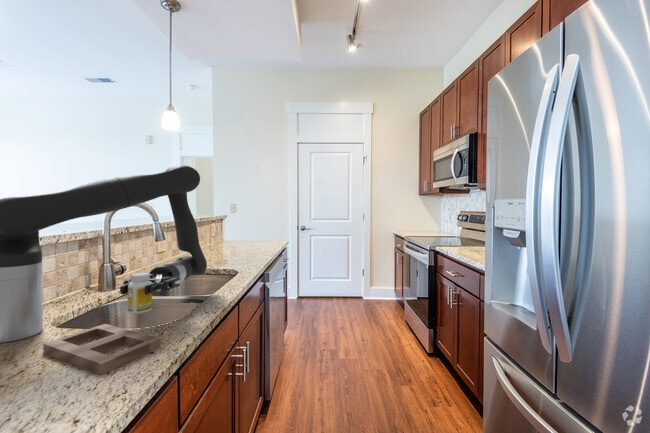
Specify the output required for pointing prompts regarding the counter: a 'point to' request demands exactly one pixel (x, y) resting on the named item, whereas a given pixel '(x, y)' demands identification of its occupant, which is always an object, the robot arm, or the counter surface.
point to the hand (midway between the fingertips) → (134, 290)
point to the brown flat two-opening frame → (101, 347)
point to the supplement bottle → (139, 294)
